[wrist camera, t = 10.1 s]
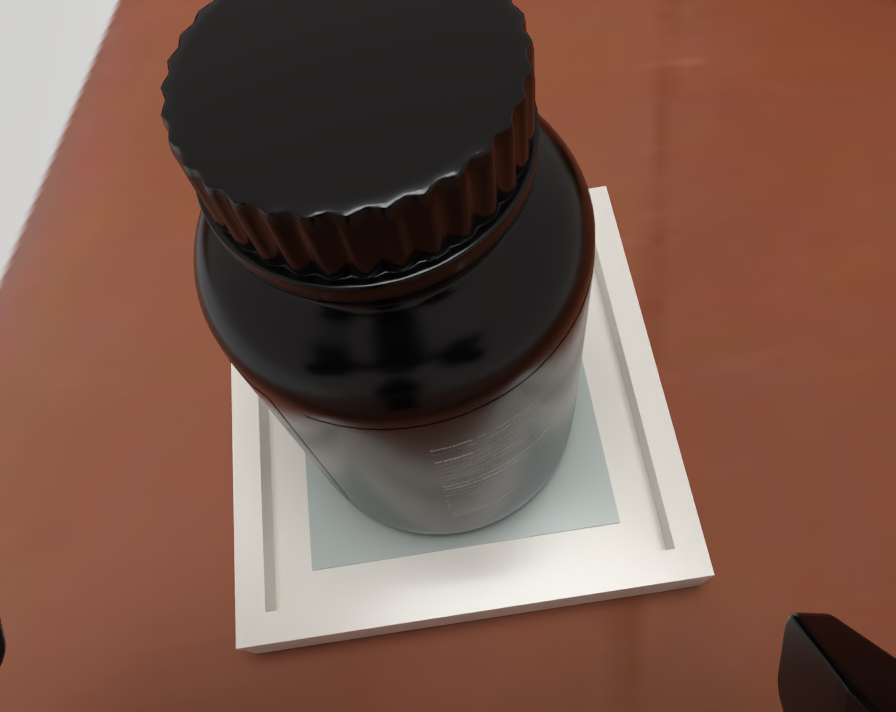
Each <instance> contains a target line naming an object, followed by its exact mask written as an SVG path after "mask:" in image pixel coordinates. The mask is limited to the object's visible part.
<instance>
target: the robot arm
mask: <svg viewBox="0 0 896 712" xmlns="http://www.w3.org/2000/svg"><path fill="white" fill-rule="evenodd" d="M5 647H6V642H5V636H4V632H3V628H2V624H1V620H0V666H1V664H2V661H3V658H4V654H5ZM778 690H779V696H780V701H781V704H782V708H783V712H896V658H895V657H893V656H892V655H890V654H889V653H887V652H886V651H884V650H883V649H881V648H880V647H878V646H877V645H875V644H874V643H872V642H871V641H870V640H868V639H867V638H865V637H864V636H862V635H861V634H859V633H858V632H856V631H855V630H853V629H852V628H850V627H849V626H847V625H846V624H844V623H843V622H842V621H840V620H839V619H837V618H835V617H834V616H832V615H829V614H822V613H793V614H792V615H790V616H789V618H788V620H787V622H786V626H785V632H784V638H783V645H782V651H781V658H780V665H779V671H778Z"/></svg>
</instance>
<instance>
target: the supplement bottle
mask: <svg viewBox="0 0 896 712" xmlns="http://www.w3.org/2000/svg"><path fill="white" fill-rule="evenodd" d="M167 63H168V70H169V73H168V75H167V77H166V79H165V80H164V82H163V84H162V86H161V90H162V94H163V96H164V99H165V102H164V105H163V109H162V113H161V117H162V120H163V123H164V125H165V127H166V129H167V131H168V132H169V145H170V148H171V150H172V152H173V154H174V156H175V158H176V159H177V161H178V163H179V164H180V166H181V167H182V169H183V171H184V172H185V174H186V175H187V177H188V179H189V181H190V182H191V184H192V186H193V187H194V189H195V190H196V194H197V198H198V201H199V204H200V207H201V211H200V215H199V219H198V223H197V228H196V235H195V242H194V276H195V284H196V289H197V294H198V299H199V302H200V305H201V308H202V311H203V314H204V317H205V320H206V322H207V324H208V326H209V328H210V330H211V332H212V334H213V336H214V337H215V339H216V341H217V342H218V344H219V345H220V347H221V348H222V350H223V352H224V353H225V355H226V356H227V357H228V359H229V360H230V362H231V363H232V365H233V366H234V367H235V368H236V369H237V371H238V372H239V373H240V374H241V376H242V377H243V378H244V379H245V380H246V382H247V383H248V384H249V385H250V386H251V388H252V389H253V390H254V391H255V393H256V394H257V395H258V396H259V397H260V399H261V400H262V401H263V402H264V403H265V405H266V406H267V407H268V408H269V409H270V411H271V412H272V413H273V414H274V415H275V417H276V418H277V419H278V420H279V421H280V423H281V424H282V425H283V426H284V427H285V429H286V430H287V431H288V432H289V434H290V435H291V436H292V437H293V438H294V440H295V441H296V442H297V443H298V444H299V446H300V447H301V448H302V449H303V450H304V452H305V453H306V454H307V455H308V456H309V458H310V459H311V460H312V461H313V462H314V464H315V465H316V466H317V467H318V468H319V470H320V471H321V472H322V473H323V474H324V476H325V477H326V478H327V479H328V480H329V482H330V483H331V484H332V485H333V486H334V487H335V488H336V489H337V490H338V491H339V493H340V494H341V495H343V496H344V497H345V498H346V499H347V500H348V501H349V502H350V503H351V504H352V505H354V506H355V507H356V508H357V509H359V510H360V511H362V512H363V513H365V514H366V515H368V516H370V517H371V518H373V519H375V520H377V521H379V522H381V523H383V524H385V525H388V526H391V527H393V528H396V529H400V530H404V531H408V532H413V533H419V534H432V535H441V534H454V533H461V532H466V531H470V530H474V529H478V528H481V527H484V526H487V525H489V524H492V523H494V522H496V521H498V520H500V519H502V518H504V517H506V516H508V515H509V514H511V513H513V512H514V511H516V510H517V509H518V508H520V507H521V506H522V505H524V504H525V503H526V502H527V501H529V500H530V499H531V498H532V497H533V496H534V495H535V494H536V493H537V492H538V491H539V490H540V489H541V488H542V487H543V485H544V484H545V483H546V482H547V480H548V479H549V478H550V476H551V475H552V473H553V472H554V470H555V468H556V467H557V465H558V463H559V461H560V459H561V457H562V455H563V452H564V450H565V448H566V445H567V442H568V439H569V436H570V431H571V427H572V422H573V417H574V412H575V405H576V398H577V390H578V383H579V375H580V368H581V360H582V353H583V345H584V338H585V331H586V323H587V316H588V308H589V301H590V293H591V286H592V278H593V269H594V260H595V219H594V211H593V205H592V201H591V197H590V193H589V189H588V186H587V184H586V181H585V178H584V176H583V173H582V171H581V169H580V167H579V165H578V163H577V161H576V159H575V157H574V156H573V154H572V153H571V151H570V150H569V148H568V147H567V145H566V144H565V142H564V141H563V139H562V138H561V137H560V136H559V135H558V133H557V132H556V131H555V130H554V129H553V128H552V126H551V125H550V124H549V123H548V122H547V121H546V120H545V119H544V118H543V117H541V116H540V115H539V114H538V111H537V106H536V102H535V76H534V47H533V43H532V39H531V38H530V36H529V35H528V33H527V32H526V21H525V17H524V14H523V13H522V12H521V11H520V10H519V9H518V8H517V7H516V6H515V5H513V4H512V0H213V2H211V3H210V4H208V5H206V6H205V7H203V8H202V9H201V10H199V11H198V13H197V15H196V17H195V20H194V22H193V24H192V25H191V26H189V27H188V28H187V29H186V30H185V31H184V32H183V33H182V34H181V35H180V38H179V45H178V48H177V49H176V50H175V52H174V53H173V54H172V55H171V57H170V58H169V59H168V61H167Z"/></svg>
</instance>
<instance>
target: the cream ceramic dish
mask: <svg viewBox="0 0 896 712" xmlns="http://www.w3.org/2000/svg"><path fill="white" fill-rule="evenodd" d="M589 193H590V197H591V201H592V205H593V211H594V219H595V260H594V269H593V278H592V286H591V293H590V301H589V308H588V316H587V323H586V331H585V338H584V345H583V353H582V360H581V368H580V375H579V383H578V390H577V398H576V405H575V412H574V417H573V422H572V427H571V431H570V436H569V439H568V442H567V445H566V448H565V450H564V452H563V455H562V457H561V459H560V461H559V463H558V465H557V467H556V468H555V470H554V472H553V473H552V475H551V476H550V478H549V479H548V480H547V482H546V483H545V484H544V485H543V487H542V488H541V489H540V490H539V491H538V492H537V493H536V494H535V495H534V496H533V497H532V498H531V499H530V500H529V501H527V502H526V503H525V504H524V505H522V506H521V507H520V508H518V509H517V510H516V511H514V512H513V513H511V514H509V515H508V516H506V517H504V518H502V519H500V520H498V521H496V522H494V523H492V524H489V525H487V526H484V527H481V528H478V529H474V530H470V531H466V532H461V533H454V534H441V535H432V534H419V533H413V532H408V531H404V530H400V529H396V528H393V527H391V526H388V525H385V524H383V523H381V522H379V521H377V520H375V519H373V518H371V517H370V516H368V515H366V514H365V513H363V512H362V511H360V510H359V509H357V508H356V507H355V506H354V505H352V504H351V503H350V502H349V501H348V500H347V499H346V498H345V497H344V496H343V495H341V494H340V493H339V491H338V490H337V489H336V488H335V487H334V486H333V485H332V484H331V483H330V482H329V480H328V479H327V478H326V477H325V476H324V474H323V473H322V472H321V471H320V470H319V468H318V467H317V466H316V465H315V464H314V462H313V461H312V460H311V459H310V458H309V456H308V455H307V454H306V453H305V452H304V450H303V449H302V448H301V447H300V446H299V444H298V443H297V442H296V441H295V440H294V438H293V437H292V436H291V435H290V434H289V432H288V431H287V430H286V429H285V427H284V426H283V425H282V424H281V423H280V421H279V420H278V419H277V418H276V417H275V415H274V414H273V413H272V412H271V411H270V409H269V408H268V407H267V406H266V405H265V403H264V402H263V401H262V400H261V399H260V397H259V396H258V395H257V394H256V393H255V391H254V390H253V389H252V388H251V386H250V385H249V384H248V383H247V382H246V380H245V379H244V378H243V377H242V376H241V374H240V373H239V372H238V371H237V369H236V368H235V367H234V366H233V365H232V363H231V377H232V437H233V497H234V557H235V617H236V649H238V650H243V651H247V652H251V653H255V654H259V653H265V652H272V651H278V650H285V649H291V648H298V647H304V646H311V645H317V644H324V643H330V642H337V641H343V640H350V639H356V638H363V637H369V636H376V635H382V634H389V633H395V632H402V631H408V630H415V629H421V628H428V627H434V626H441V625H447V624H454V623H460V622H467V621H473V620H480V619H486V618H493V617H499V616H506V615H512V614H518V613H525V612H531V611H538V610H544V609H551V608H557V607H564V606H570V605H577V604H583V603H590V602H596V601H603V600H609V599H616V598H622V597H629V596H635V595H642V594H648V593H655V592H661V591H668V590H674V589H681V588H687V587H694V586H700V585H702V584H703V583H704V582H706V581H707V580H708V579H710V578H711V577H713V576H714V572H713V568H712V565H711V561H710V557H709V554H708V550H707V547H706V543H705V540H704V536H703V532H702V529H701V525H700V522H699V518H698V514H697V511H696V507H695V504H694V500H693V496H692V493H691V489H690V486H689V482H688V479H687V475H686V471H685V468H684V464H683V461H682V457H681V453H680V450H679V446H678V443H677V439H676V436H675V432H674V428H673V425H672V421H671V418H670V414H669V410H668V407H667V403H666V400H665V396H664V393H663V389H662V385H661V382H660V378H659V375H658V371H657V367H656V364H655V360H654V357H653V353H652V350H651V346H650V342H649V339H648V335H647V332H646V328H645V324H644V321H643V317H642V314H641V310H640V307H639V303H638V299H637V296H636V292H635V289H634V285H633V281H632V278H631V274H630V271H629V267H628V264H627V260H626V256H625V253H624V249H623V246H622V242H621V238H620V235H619V231H618V228H617V224H616V221H615V217H614V213H613V210H612V206H611V203H610V199H609V195H608V192H607V188H606V186H603V187H597V188H591V189H589Z"/></svg>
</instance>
